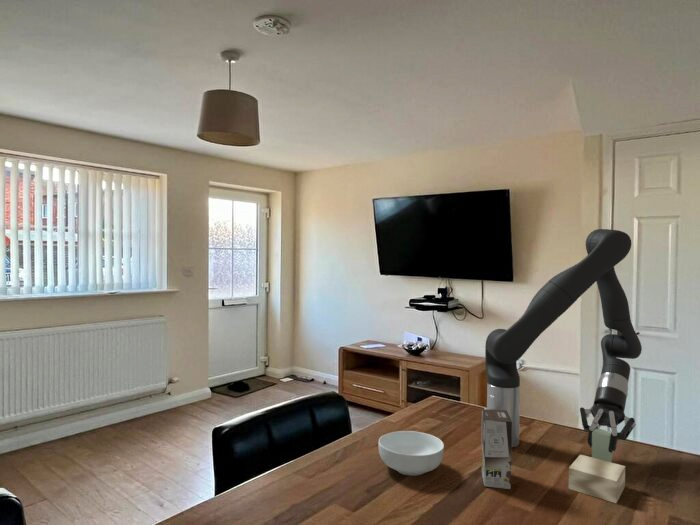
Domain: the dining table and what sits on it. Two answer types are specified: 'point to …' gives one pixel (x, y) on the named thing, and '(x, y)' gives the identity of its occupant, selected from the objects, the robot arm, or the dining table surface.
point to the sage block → (601, 445)
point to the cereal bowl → (411, 452)
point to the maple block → (597, 478)
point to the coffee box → (496, 448)
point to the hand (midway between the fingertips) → (600, 448)
